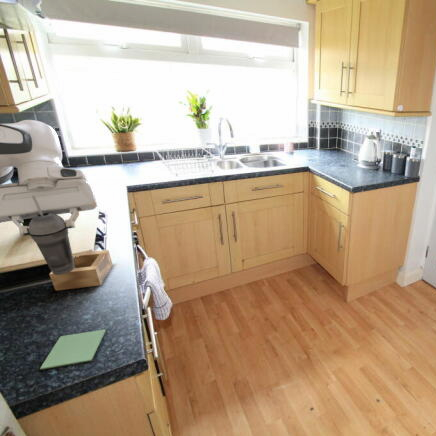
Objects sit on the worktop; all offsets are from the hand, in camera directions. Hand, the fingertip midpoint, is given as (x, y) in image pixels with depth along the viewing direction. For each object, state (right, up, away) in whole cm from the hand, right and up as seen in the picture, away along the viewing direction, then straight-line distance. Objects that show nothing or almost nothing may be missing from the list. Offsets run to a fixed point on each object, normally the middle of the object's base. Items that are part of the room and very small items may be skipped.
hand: (48, 230), depth 76 cm
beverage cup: (-1, -10, +5) cm, 12 cm away
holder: (-12, -16, +27) cm, 34 cm away
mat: (+6, -29, +1) cm, 29 cm away
